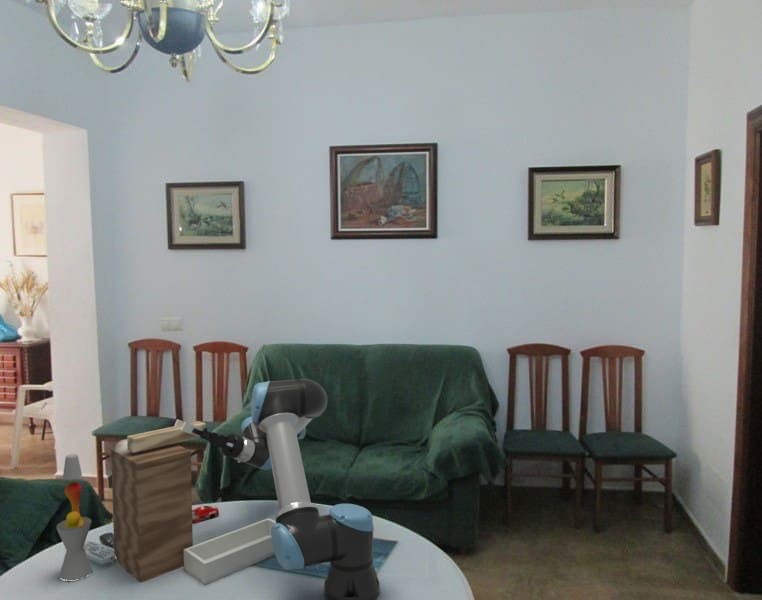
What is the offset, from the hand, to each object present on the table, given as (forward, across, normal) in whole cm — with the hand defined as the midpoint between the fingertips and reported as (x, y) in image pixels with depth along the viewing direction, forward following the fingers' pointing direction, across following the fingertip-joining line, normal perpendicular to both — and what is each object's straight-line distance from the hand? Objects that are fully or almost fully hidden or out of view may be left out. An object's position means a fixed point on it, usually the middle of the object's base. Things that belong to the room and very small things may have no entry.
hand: (179, 424), depth 186 cm
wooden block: (-12, 0, -39) cm, 41 cm away
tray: (-28, -17, -30) cm, 44 cm away
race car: (-33, +17, -27) cm, 46 cm away
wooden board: (+1, 0, -6) cm, 6 cm away
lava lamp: (+5, +9, -49) cm, 50 cm away
